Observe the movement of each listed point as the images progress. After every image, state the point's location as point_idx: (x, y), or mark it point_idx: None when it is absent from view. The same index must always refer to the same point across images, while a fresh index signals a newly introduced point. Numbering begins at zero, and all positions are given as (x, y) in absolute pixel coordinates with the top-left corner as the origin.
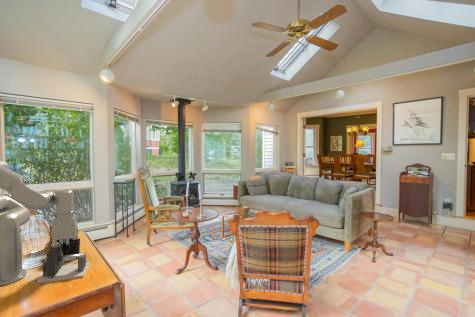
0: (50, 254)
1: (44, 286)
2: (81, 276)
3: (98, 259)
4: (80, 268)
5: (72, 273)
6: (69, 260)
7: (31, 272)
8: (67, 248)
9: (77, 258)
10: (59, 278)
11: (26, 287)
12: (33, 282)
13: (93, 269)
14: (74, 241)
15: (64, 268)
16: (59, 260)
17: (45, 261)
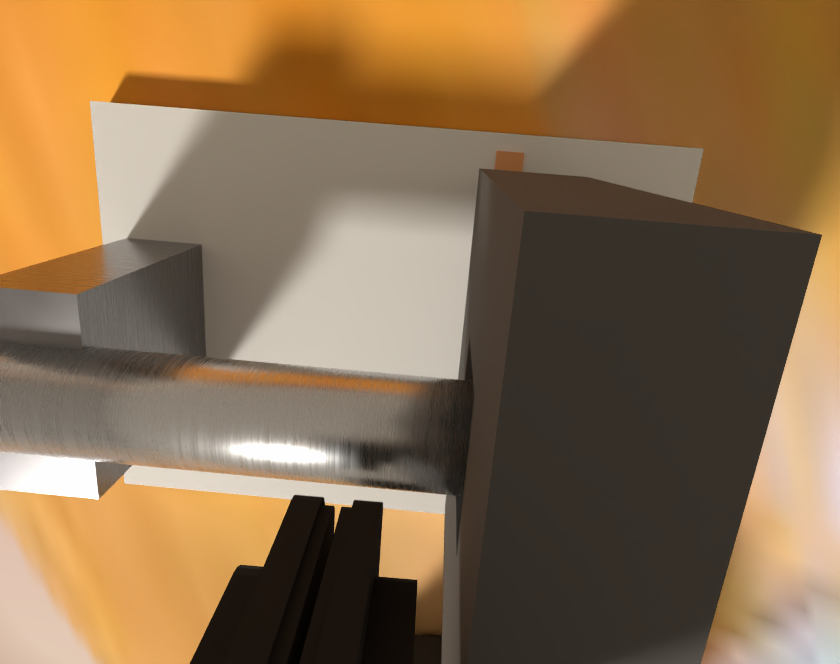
0: (660, 219)
1: (573, 9)
2: (123, 105)
3: (72, 559)
4: (141, 247)
5: (263, 219)
6: (414, 640)
7: (804, 502)
8: (250, 595)
9: (112, 349)
10: (408, 127)
11: (806, 78)
12: (739, 202)
13: None
14: None
15: None
16: (445, 380)
17: None
